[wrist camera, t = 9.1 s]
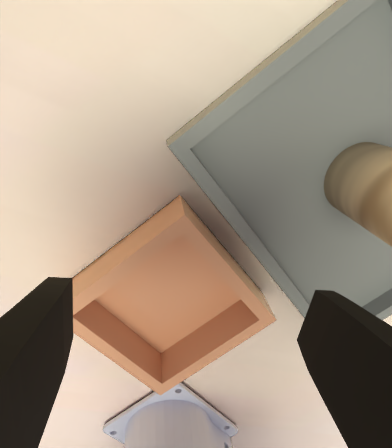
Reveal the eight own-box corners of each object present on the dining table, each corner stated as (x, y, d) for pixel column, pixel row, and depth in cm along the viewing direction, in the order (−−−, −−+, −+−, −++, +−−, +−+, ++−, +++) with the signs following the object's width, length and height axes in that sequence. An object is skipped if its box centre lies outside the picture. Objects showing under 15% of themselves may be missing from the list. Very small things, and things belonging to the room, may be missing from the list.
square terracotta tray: (261, 291, 22) (276, 320, 20) (159, 360, 24) (160, 395, 21) (179, 195, 19) (184, 214, 16) (64, 284, 20) (50, 316, 17)
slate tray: (475, 236, 23) (500, 247, 21) (319, 333, 25) (331, 351, 23) (384, -38, 15) (412, -52, 13) (166, 140, 17) (167, 146, 15)
